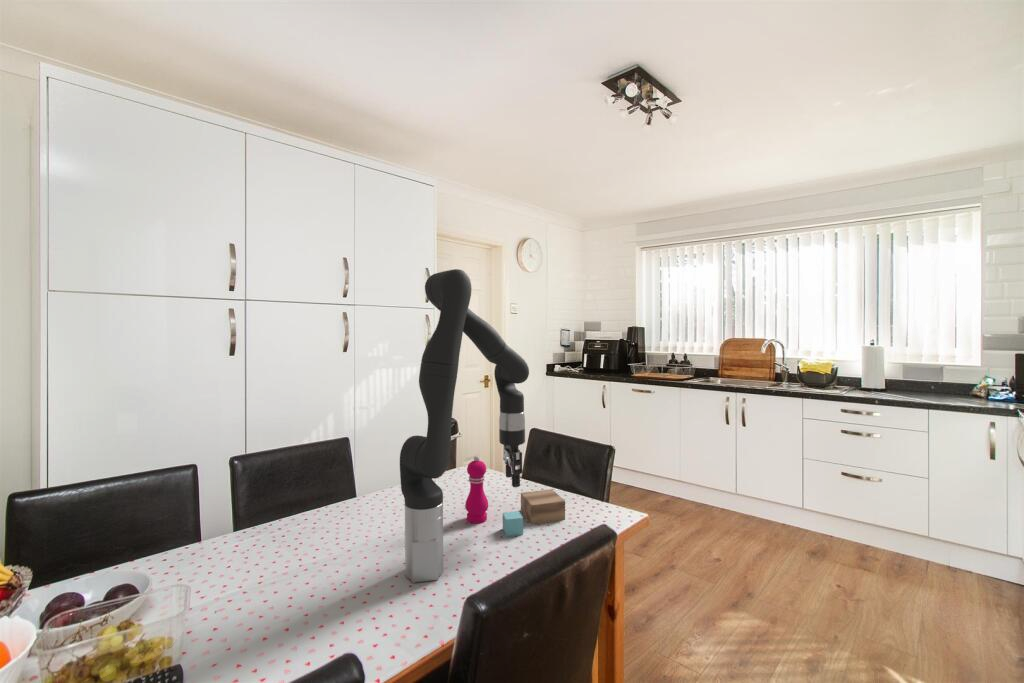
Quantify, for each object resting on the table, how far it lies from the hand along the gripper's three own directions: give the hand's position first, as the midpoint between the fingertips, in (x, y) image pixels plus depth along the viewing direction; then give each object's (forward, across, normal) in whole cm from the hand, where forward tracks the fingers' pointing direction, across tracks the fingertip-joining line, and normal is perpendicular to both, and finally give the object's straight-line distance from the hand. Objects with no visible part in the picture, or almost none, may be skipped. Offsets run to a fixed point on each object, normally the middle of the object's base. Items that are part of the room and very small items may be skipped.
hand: (512, 481), depth 135 cm
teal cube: (+15, 0, 0) cm, 15 cm away
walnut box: (+15, +10, -12) cm, 22 cm away
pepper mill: (+15, +11, +9) cm, 21 cm away
